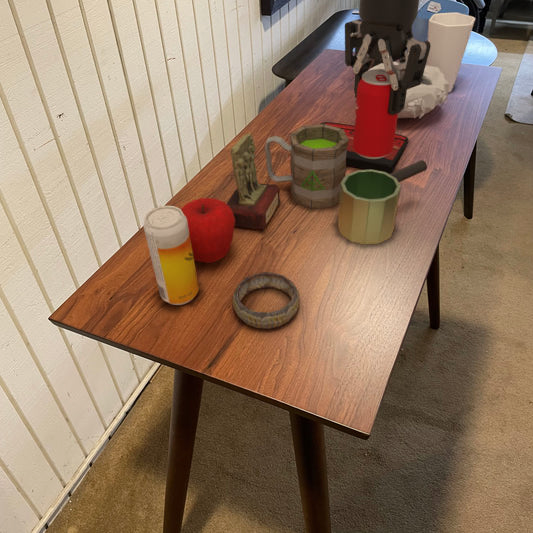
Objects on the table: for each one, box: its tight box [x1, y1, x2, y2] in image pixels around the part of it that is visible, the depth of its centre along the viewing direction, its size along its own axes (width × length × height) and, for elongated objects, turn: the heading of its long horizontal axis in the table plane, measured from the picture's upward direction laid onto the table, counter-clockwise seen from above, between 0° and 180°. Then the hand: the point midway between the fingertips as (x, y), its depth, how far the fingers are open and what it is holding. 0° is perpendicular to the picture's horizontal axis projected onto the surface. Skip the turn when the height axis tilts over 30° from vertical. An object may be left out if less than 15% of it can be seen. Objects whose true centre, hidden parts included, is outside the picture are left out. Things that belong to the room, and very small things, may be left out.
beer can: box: [142, 205, 200, 306], centre depth 76 cm, size 6×6×15 cm
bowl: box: [368, 61, 449, 120], centre depth 122 cm, size 21×20×10 cm
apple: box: [180, 197, 236, 264], centre depth 84 cm, size 10×10×11 cm
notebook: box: [320, 121, 409, 174], centre depth 113 cm, size 16×2×21 cm
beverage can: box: [353, 69, 399, 159], centre depth 77 cm, size 6×6×12 cm
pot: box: [337, 159, 428, 245], centre depth 90 cm, size 18×10×9 cm, turn 125°
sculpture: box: [226, 133, 281, 230], centre depth 91 cm, size 10×8×15 cm
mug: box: [264, 123, 349, 210], centre depth 97 cm, size 16×11×12 cm
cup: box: [426, 12, 476, 93], centre depth 130 cm, size 11×10×17 cm
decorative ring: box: [232, 271, 301, 330], centre depth 77 cm, size 10×3×10 cm
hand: (377, 104), depth 75 cm, fingers closed on beverage can, 6 cm apart
